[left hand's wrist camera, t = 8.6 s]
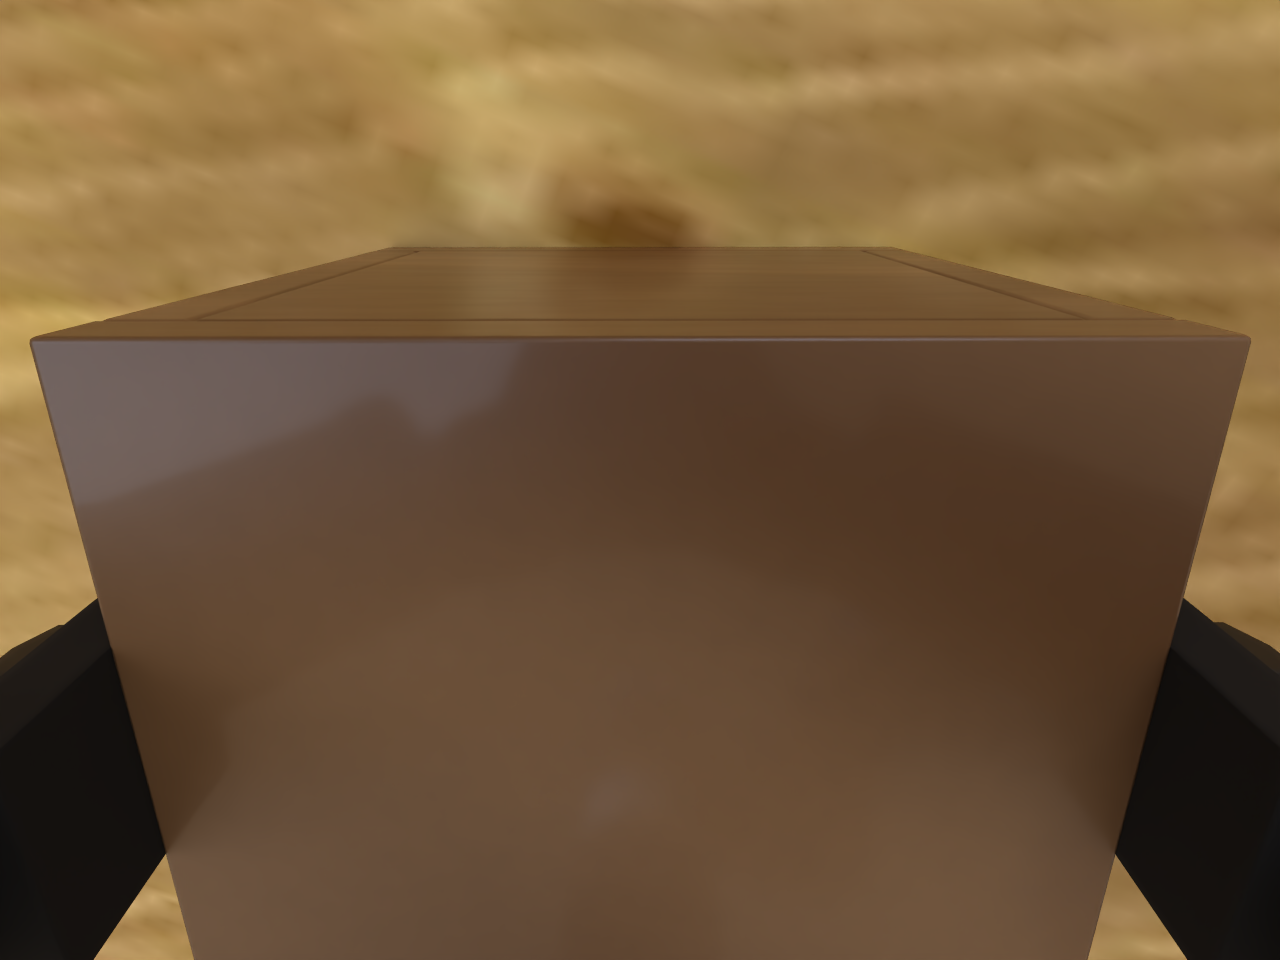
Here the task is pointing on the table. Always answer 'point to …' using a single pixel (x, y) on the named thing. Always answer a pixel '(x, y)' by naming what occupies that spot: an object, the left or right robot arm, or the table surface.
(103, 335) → the cabinet
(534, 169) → the table surface
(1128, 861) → the left robot arm
